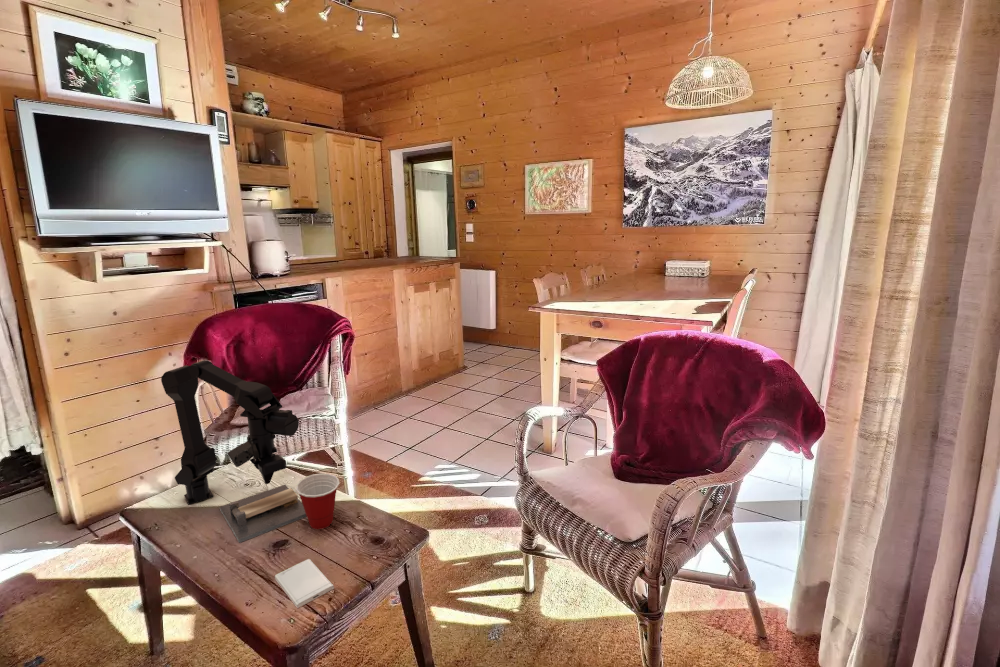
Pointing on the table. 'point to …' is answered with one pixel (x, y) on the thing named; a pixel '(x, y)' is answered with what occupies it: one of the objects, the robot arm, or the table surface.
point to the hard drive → (303, 583)
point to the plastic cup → (318, 498)
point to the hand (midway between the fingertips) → (267, 483)
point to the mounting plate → (261, 515)
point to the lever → (266, 503)
